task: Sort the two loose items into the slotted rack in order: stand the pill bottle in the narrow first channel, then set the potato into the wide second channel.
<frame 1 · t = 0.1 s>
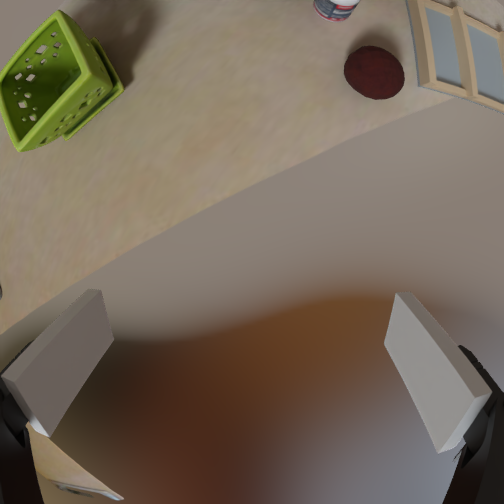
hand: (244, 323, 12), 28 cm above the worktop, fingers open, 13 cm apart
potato: (364, 78, 32), on the worktop
slot rack: (465, 56, 28), on the worktop
flower pot: (86, 89, 33), on the worktop
pill bottle: (331, 9, 29), on the worktop
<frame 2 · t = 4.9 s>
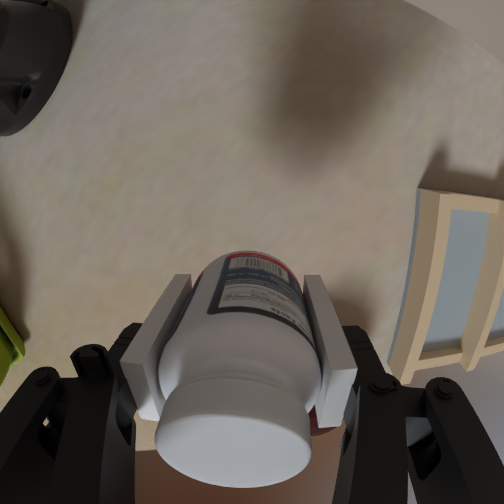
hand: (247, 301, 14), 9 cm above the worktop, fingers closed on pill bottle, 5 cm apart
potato: (301, 368, 26), on the worktop
slot rack: (488, 281, 22), on the worktop
pill bottle: (248, 297, 14), point 8 cm above the worktop, touching gripper
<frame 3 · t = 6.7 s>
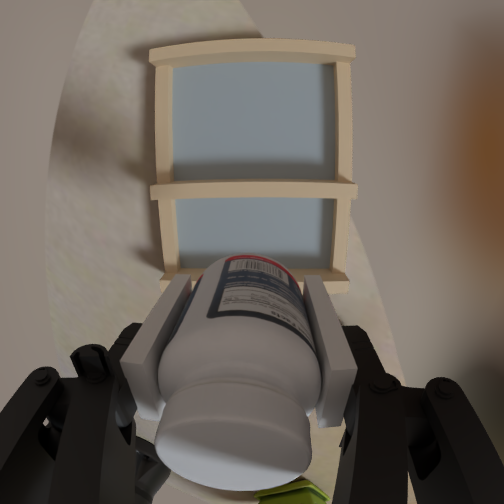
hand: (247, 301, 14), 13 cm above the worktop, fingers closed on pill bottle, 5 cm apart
slot rack: (253, 165, 25), on the worktop
flower pot: (293, 490, 44), on the worktop
pill bottle: (248, 299, 14), point 13 cm above the worktop, touching gripper
when the fingers open (1 cm above the worktop, at t = 9.0 s): pill bottle stays where it is, resting on slot rack.
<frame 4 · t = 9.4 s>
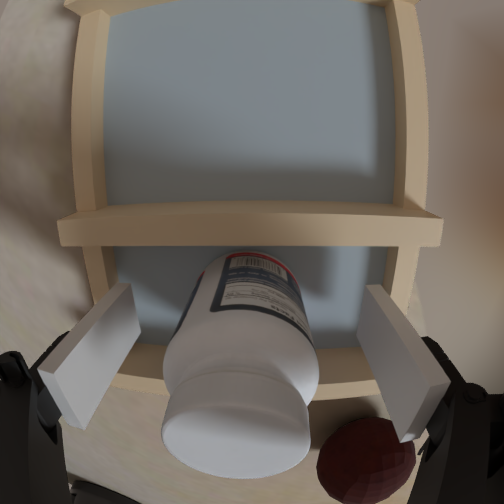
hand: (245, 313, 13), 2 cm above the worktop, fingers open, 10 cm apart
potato: (356, 428, 19), on the worktop
slot rack: (246, 174, 13), on the worktop
pill bottle: (248, 295, 15), resting on slot rack
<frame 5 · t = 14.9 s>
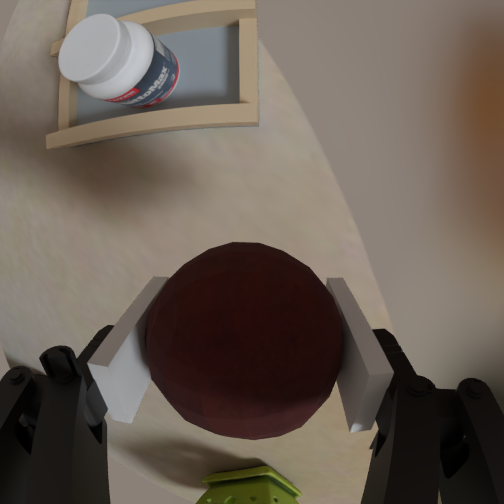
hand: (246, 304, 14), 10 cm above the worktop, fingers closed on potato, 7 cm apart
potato: (246, 299, 14), point 9 cm above the worktop, touching gripper
slot rack: (155, 16, 17), on the worktop
flower pot: (254, 479, 36), on the worktop
pill bottle: (150, 77, 18), resting on slot rack
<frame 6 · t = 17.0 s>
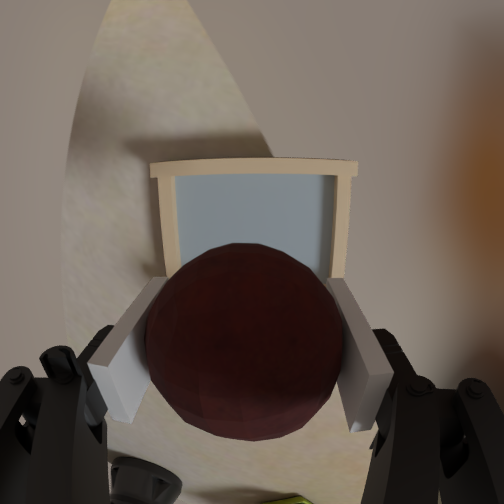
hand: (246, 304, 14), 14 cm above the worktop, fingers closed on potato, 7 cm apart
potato: (246, 300, 14), point 13 cm above the worktop, touching gripper
slot rack: (255, 270, 28), on the worktop
when the fingers open (1 cm above the worktop, at t = 19.6 s): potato stays where it is, resting on slot rack.
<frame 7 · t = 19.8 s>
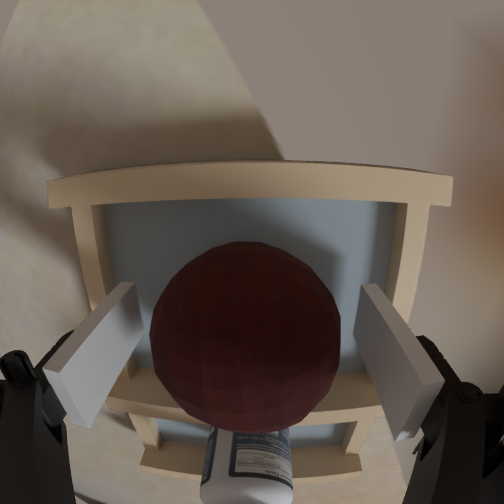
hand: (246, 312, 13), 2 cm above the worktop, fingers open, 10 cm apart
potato: (248, 297, 14), resting on slot rack
slot rack: (249, 355, 16), on the worktop
pill bottle: (250, 422, 18), resting on slot rack
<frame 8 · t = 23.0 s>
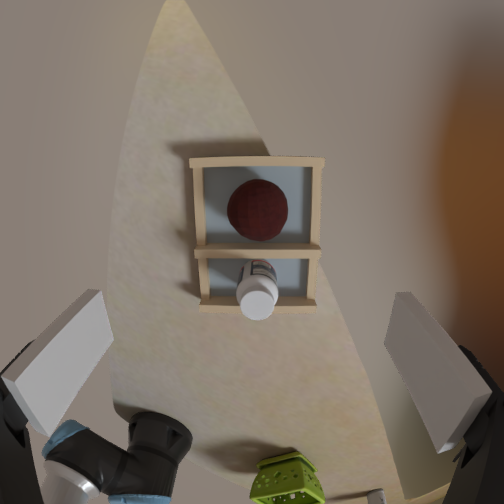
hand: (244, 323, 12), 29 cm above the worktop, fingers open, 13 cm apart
travel mug: (374, 491, 69), on the worktop
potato: (257, 205, 39), resting on slot rack
slot rack: (257, 233, 41), on the worktop
flower pot: (287, 462, 60), on the worktop
pill bottle: (258, 275, 42), resting on slot rack
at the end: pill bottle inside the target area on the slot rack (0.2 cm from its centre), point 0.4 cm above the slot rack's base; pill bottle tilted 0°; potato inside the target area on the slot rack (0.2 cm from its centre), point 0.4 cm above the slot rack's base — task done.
